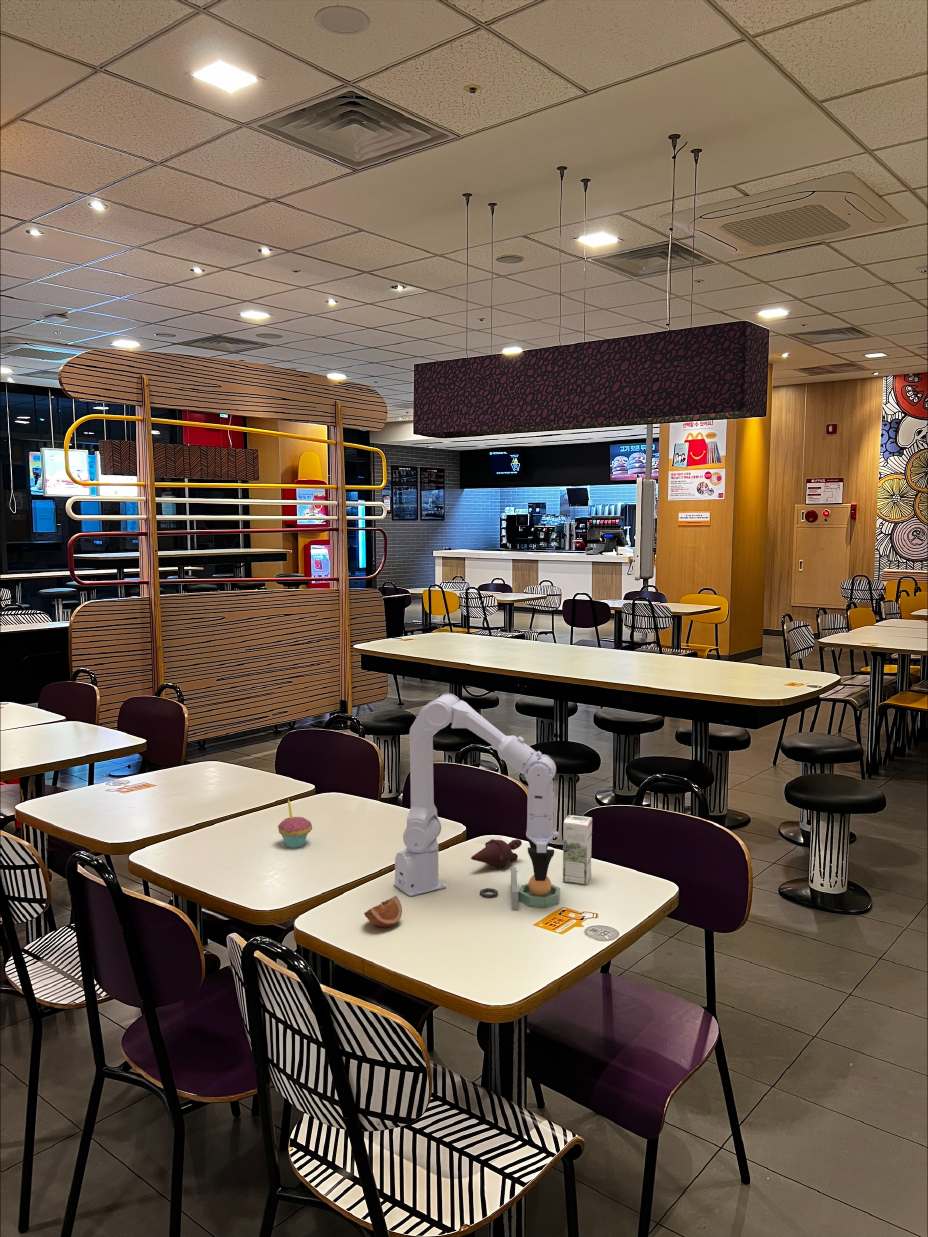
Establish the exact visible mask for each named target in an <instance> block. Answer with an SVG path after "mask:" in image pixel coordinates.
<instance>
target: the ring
mask: <svg viewBox="0 0 928 1237" xmlns="http://www.w3.org/2000/svg"><path fill="white" fill-rule="evenodd" d="M498 894H499V890H497V889H495V888H490V887H485V888H481V889H480V890H479V896H480V897H481V898H484V899H485V898H486V899H493V898H496V897H498Z"/></svg>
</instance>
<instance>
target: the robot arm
mask: <svg viewBox="0 0 928 1237" xmlns="http://www.w3.org/2000/svg"><path fill="white" fill-rule="evenodd" d="M450 723H451V726H450V728H451V729H467V730H469V731H471V732H472V733H473V734H475V735H476V736H478V737H479V738H481V739H483V740H484V741H486V742H487V743H488V744H490V745H492V746H493V747H494V748H496V752H497V754H498V757H499V758H500V759H501V760H503V761H504V762H505V763H507V764H508V765H510V766H511V767H512V768H514V769H515V770H516V771H517V772H519V773H520V774H522V775H524V778H525V780H526V783H527V784H528V786H527V789H528V790H527V807H526V808H527V810H526V812H527V813H526V814H527V815H526V816H527V817H526V820H527V821H526V831H525V835H526V839H527V841H528V844H529V847H527V854H528V855H529V858H530V861H531V863H532V868H533V875H534V876H535V880H536V881H545V879H546V876H547V877H548V870H549V867H550V866H549V865H550V863H551V860H552V859H553V857H554V855H555V849H548V847H549V845H550V842H551V841H552V840H553V838H559V835H560V833H559V831H556V830H555V831H554V820H555V818H554V815H555V814H554V812H555V810H554V809H555V807H554V806H555V791H554V788H555V785H554V780H553V779H554V777H555V776H556V773H557V765H556V763H555V761H554V760H553V759H552V758H551V756H550V755H547V754H542V752H541V751H540V750H538V751H537V750H535V749H534V748H532V747H531V746H530V745H529V744H526V743H525V742H524V741H525V739H524V738H523V737H522V736H518V737H517V736H516V735H506V734H504V733H503V732H502V731H500V730H499V729H498V728H497V727H496V726H494V725H493V724H492V723H490V722H489V721H488V719H486V718H485V717H483V716H482V715H481V714H479V712H477V711H476V710H475V709H474V708H473V707H472V706H470V705H469V704H468V702H466V701H464V700H463V699H460V698H459V697H458V696H456V695H455V694H454V693H444V694H442V695H440V696H439V697H437V698H436V699H434V700H431V701H430V702H428V703H427V704H425V705H424V706H423V707H422V708H420V710H419V713H418V714H417V717H416V718H415V720H414V721H413V723H412V724H411V726H410V728H409V769H410V770H409V772H410V774H409V775H410V809H409V812H408V816H407V817H406V818H407V819H406V828H405V829H404V832H403V835H402V839H403V844H404V845H405V849H403V850H402V851H400V852H398V853H396V855H395V860H394V882H393V886H395V887H396V888H397V889H399V890H400V891H402V892H403V893H404V894H406V895H407V896H409V897H413V896H417V895H421V894H425V893H428V892H432V891H437V890H441V889H445V888H446V887H447V884H445V883H443V882H442V881H440V880H439V843H438V839H437V838H438V837H439V836H440V834H441V831H442V823H441V821H440V819H439V817H438V809H437V807H436V805H435V802H434V800H435V799H434V798H435V796H434V795H435V794H434V790H435V789H434V786H435V785H434V741H433V740H434V735H436V734H437V733H438V732H439V731H440V730H442V729H444V728H446V727H447V726H449V725H450Z"/></svg>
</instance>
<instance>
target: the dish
mask: <svg viewBox="0 0 928 1237" xmlns="http://www.w3.org/2000/svg"><path fill="white" fill-rule="evenodd" d="M560 900H561V888H560V887H558V886H556V885H555V884H552V883H551V890H550V892H549V893H548V894H547V895H546V896H544V897H539V896H534V895H533V894H532V893H531V892H530V890H529V887H528V883H524V884H521V885H520V888H519V891H518V901H519V902H521V903H522V904H525V905H526V906H527V907H533V908H543V909H545V908H549V907H552V906H556V905H558V904H559V903H560Z"/></svg>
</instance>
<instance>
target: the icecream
mask: <svg viewBox="0 0 928 1237" xmlns="http://www.w3.org/2000/svg"><path fill="white" fill-rule="evenodd" d="M522 844H523V843H522V840H521V839H512V840H511V841H510V842H509V843H507V842H506V841H505V840H502V839H493V838H492V839H490V840H489V841H487V842H485V843H484V846H485V847H483V848H482V849H481V850H479V851H478V852H476V853H475V854H473V855H472V856H471V857H470V859H471V860H473V861H476V862H479V863H484V864H488V865H489V867H490V868H492V869H495V870H500V869H501V867H505V866H508V864H509V862H515V861H517V860H518V858H519V856H518V854H517V853H516V852H513V851H514V850H517V849H519V848H520V847H521V846H522Z"/></svg>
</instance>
